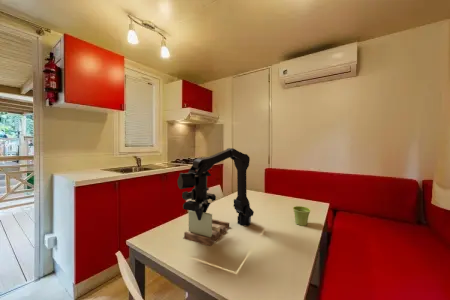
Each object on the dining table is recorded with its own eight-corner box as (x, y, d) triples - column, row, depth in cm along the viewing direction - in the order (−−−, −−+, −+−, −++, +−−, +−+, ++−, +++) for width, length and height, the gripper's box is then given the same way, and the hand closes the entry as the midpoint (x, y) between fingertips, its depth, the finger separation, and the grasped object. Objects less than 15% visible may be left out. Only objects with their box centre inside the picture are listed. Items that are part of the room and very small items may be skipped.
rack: (230, 228, 99) (230, 222, 99) (210, 248, 81) (210, 240, 81) (206, 223, 106) (206, 217, 106) (182, 239, 87) (182, 232, 87)
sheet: (212, 235, 85) (212, 213, 85) (210, 237, 84) (210, 215, 84) (190, 230, 91) (190, 209, 90) (188, 231, 89) (188, 210, 89)
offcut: (219, 234, 92) (220, 225, 92) (217, 236, 90) (217, 227, 90) (211, 231, 94) (211, 223, 94) (208, 233, 92) (208, 225, 92)
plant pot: (312, 228, 101) (312, 212, 101) (293, 226, 103) (294, 211, 103) (308, 221, 110) (308, 206, 110) (291, 219, 112) (291, 205, 112)
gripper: (197, 180, 98) (197, 210, 99) (173, 188, 82) (173, 223, 82) (216, 183, 93) (216, 214, 94) (194, 191, 77) (194, 229, 77)
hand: (200, 219), depth 87 cm, fingers closed on sheet, 2 cm apart
